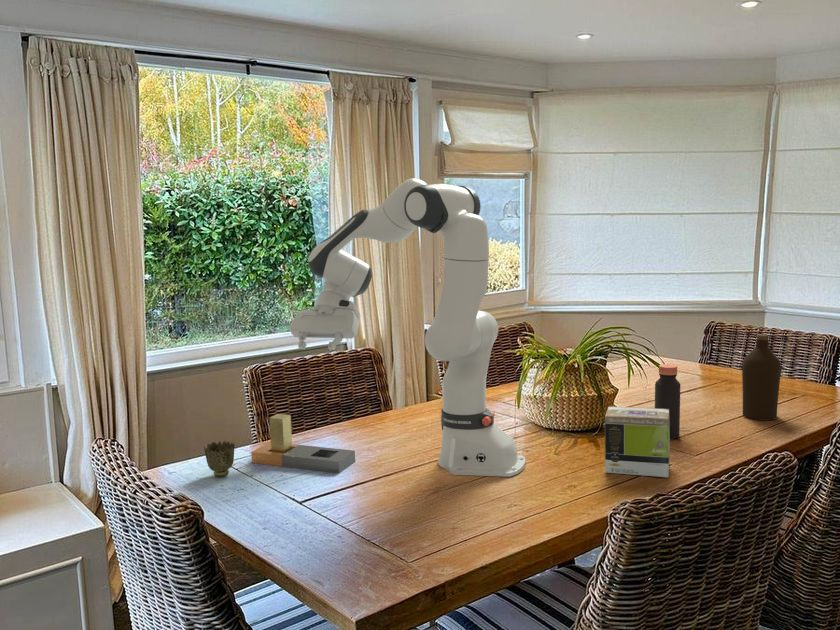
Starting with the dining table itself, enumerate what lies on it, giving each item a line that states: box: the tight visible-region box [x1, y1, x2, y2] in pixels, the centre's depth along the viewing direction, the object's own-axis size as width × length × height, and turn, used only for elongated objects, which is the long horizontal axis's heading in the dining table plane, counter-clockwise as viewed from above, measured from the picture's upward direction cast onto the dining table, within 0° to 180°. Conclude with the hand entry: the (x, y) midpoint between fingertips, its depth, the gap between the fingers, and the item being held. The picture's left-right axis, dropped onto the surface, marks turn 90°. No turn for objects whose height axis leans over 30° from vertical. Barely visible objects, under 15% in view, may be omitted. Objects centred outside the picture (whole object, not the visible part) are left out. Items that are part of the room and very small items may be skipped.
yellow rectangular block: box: [268, 413, 293, 453], centre depth 201 cm, size 4×4×12 cm
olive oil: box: [741, 333, 782, 421], centre depth 227 cm, size 11×11×25 cm
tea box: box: [604, 405, 671, 478], centre depth 186 cm, size 15×10×15 cm
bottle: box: [654, 363, 681, 440], centre depth 212 cm, size 7×7×20 cm
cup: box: [203, 440, 236, 478], centre depth 191 cm, size 8×7×8 cm
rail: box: [250, 441, 356, 474], centre depth 200 cm, size 26×9×3 cm, turn 68°
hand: (316, 348), depth 211 cm, fingers open, 8 cm apart
